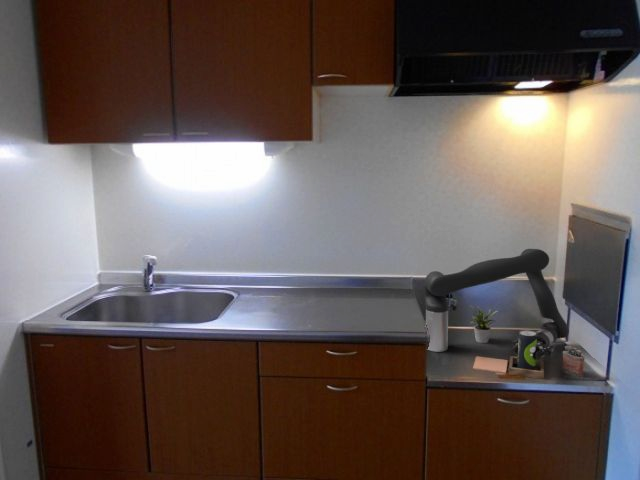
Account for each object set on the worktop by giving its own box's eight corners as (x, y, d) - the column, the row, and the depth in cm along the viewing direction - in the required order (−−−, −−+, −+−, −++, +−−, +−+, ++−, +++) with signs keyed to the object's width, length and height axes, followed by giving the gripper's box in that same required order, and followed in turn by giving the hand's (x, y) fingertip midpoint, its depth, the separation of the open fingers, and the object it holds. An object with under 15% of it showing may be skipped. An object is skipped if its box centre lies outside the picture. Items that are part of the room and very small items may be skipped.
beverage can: (515, 366, 194) (517, 329, 192) (532, 367, 193) (534, 330, 190) (519, 373, 188) (521, 335, 185) (536, 374, 187) (538, 336, 184)
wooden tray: (508, 374, 187) (508, 367, 187) (510, 362, 198) (510, 356, 198) (543, 379, 183) (543, 372, 182) (543, 366, 194) (543, 360, 193)
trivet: (472, 369, 192) (472, 367, 192) (476, 357, 203) (476, 356, 203) (505, 373, 188) (505, 372, 188) (507, 361, 199) (507, 360, 198)
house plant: (455, 339, 223) (456, 304, 221) (474, 332, 232) (475, 298, 229) (483, 349, 212) (484, 312, 209) (502, 341, 220) (503, 305, 218)
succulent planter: (585, 376, 184) (587, 350, 183) (579, 378, 183) (581, 352, 181) (565, 368, 191) (566, 343, 190) (559, 370, 190) (561, 345, 188)
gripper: (523, 328, 204) (506, 339, 192) (559, 336, 194) (545, 348, 182) (522, 345, 205) (506, 357, 193) (558, 354, 195) (544, 367, 184)
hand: (525, 353), depth 188 cm, fingers open, 8 cm apart
